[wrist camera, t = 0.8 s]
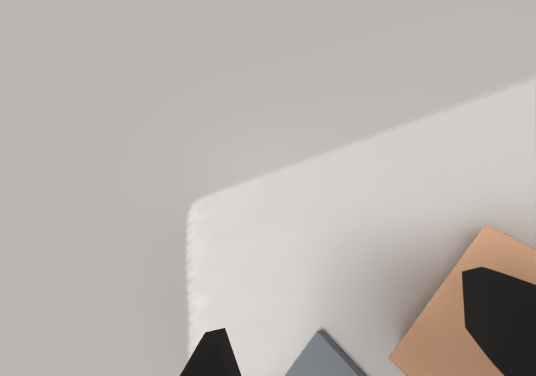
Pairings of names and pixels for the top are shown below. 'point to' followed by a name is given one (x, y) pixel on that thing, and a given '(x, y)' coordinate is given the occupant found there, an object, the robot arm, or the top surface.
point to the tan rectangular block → (460, 312)
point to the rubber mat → (323, 359)
